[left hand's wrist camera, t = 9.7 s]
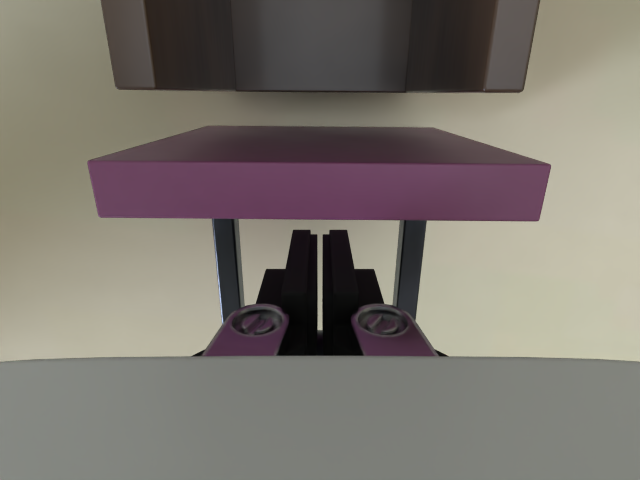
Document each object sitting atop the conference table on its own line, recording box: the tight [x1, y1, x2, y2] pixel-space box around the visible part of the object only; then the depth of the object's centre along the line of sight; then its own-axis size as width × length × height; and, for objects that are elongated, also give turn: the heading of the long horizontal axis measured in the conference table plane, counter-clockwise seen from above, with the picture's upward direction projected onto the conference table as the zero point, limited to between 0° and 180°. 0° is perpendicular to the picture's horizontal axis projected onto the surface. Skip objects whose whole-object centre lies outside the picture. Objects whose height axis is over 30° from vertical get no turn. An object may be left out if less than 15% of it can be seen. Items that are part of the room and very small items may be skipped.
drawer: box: [87, 0, 551, 356], centre depth 11 cm, size 20×9×9 cm, turn 0°
